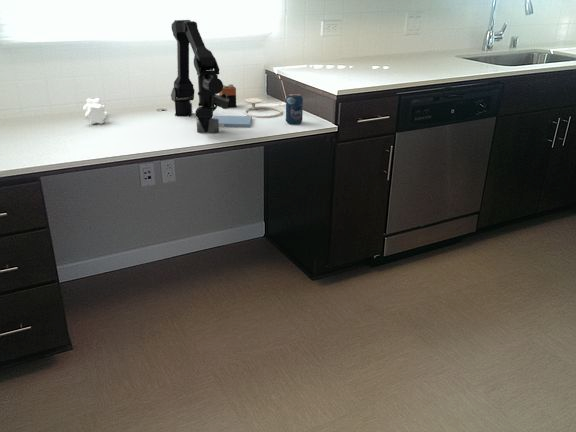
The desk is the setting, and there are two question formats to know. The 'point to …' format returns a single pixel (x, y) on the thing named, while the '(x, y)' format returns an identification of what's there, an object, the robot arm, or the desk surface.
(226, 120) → the pad
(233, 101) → the battery
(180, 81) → the robot arm
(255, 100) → the hand towel holder
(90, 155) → the desk surface
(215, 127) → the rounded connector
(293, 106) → the soda can
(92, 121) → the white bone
